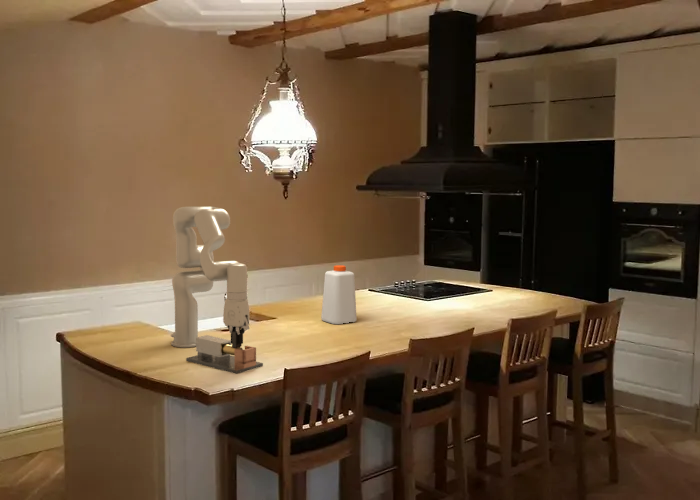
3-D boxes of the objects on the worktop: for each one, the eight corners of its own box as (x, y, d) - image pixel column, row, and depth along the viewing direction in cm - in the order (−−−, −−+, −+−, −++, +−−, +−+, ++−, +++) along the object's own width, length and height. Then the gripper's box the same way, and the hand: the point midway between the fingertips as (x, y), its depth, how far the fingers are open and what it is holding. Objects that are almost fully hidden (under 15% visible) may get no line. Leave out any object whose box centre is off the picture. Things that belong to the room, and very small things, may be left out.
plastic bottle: (359, 322, 367) (360, 266, 364) (334, 325, 359) (335, 268, 355) (343, 317, 379) (343, 263, 376) (318, 320, 371) (318, 265, 368)
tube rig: (186, 360, 288) (186, 338, 287) (213, 354, 300) (213, 333, 299) (236, 373, 272) (236, 350, 271) (262, 366, 283) (263, 343, 282)
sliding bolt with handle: (205, 350, 289) (205, 326, 288) (212, 348, 292) (212, 324, 291) (236, 357, 279) (236, 332, 278) (243, 355, 282) (243, 331, 280)
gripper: (215, 294, 280) (215, 342, 282) (244, 299, 271) (244, 348, 273) (229, 292, 286) (229, 338, 288) (259, 297, 277) (258, 345, 279)
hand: (236, 343), depth 280 cm, fingers closed on sliding bolt with handle, 2 cm apart
